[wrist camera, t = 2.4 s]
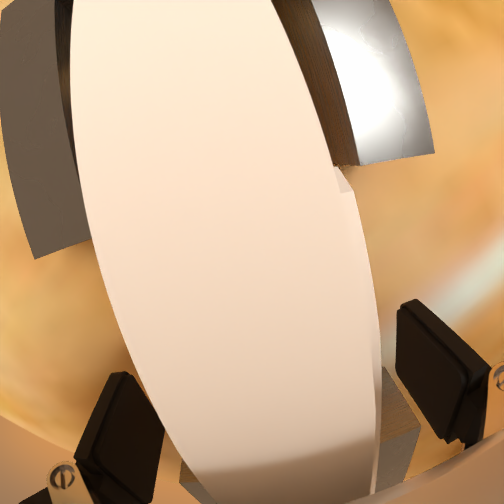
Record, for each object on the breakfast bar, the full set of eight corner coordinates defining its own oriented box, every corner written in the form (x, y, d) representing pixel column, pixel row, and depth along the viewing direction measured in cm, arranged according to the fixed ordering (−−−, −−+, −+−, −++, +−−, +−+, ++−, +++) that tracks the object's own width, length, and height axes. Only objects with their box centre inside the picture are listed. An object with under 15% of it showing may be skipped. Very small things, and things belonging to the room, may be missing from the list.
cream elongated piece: (270, 465, 18) (280, 604, 5) (166, 117, 15) (41, -22, 3) (341, 448, 18) (388, 580, 5) (257, 92, 15) (267, -94, 3)
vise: (306, -28, 9) (334, -89, 4) (378, 446, 18) (398, 492, 13) (61, 42, 9) (1, 10, 4) (233, 481, 18) (234, 530, 14)
